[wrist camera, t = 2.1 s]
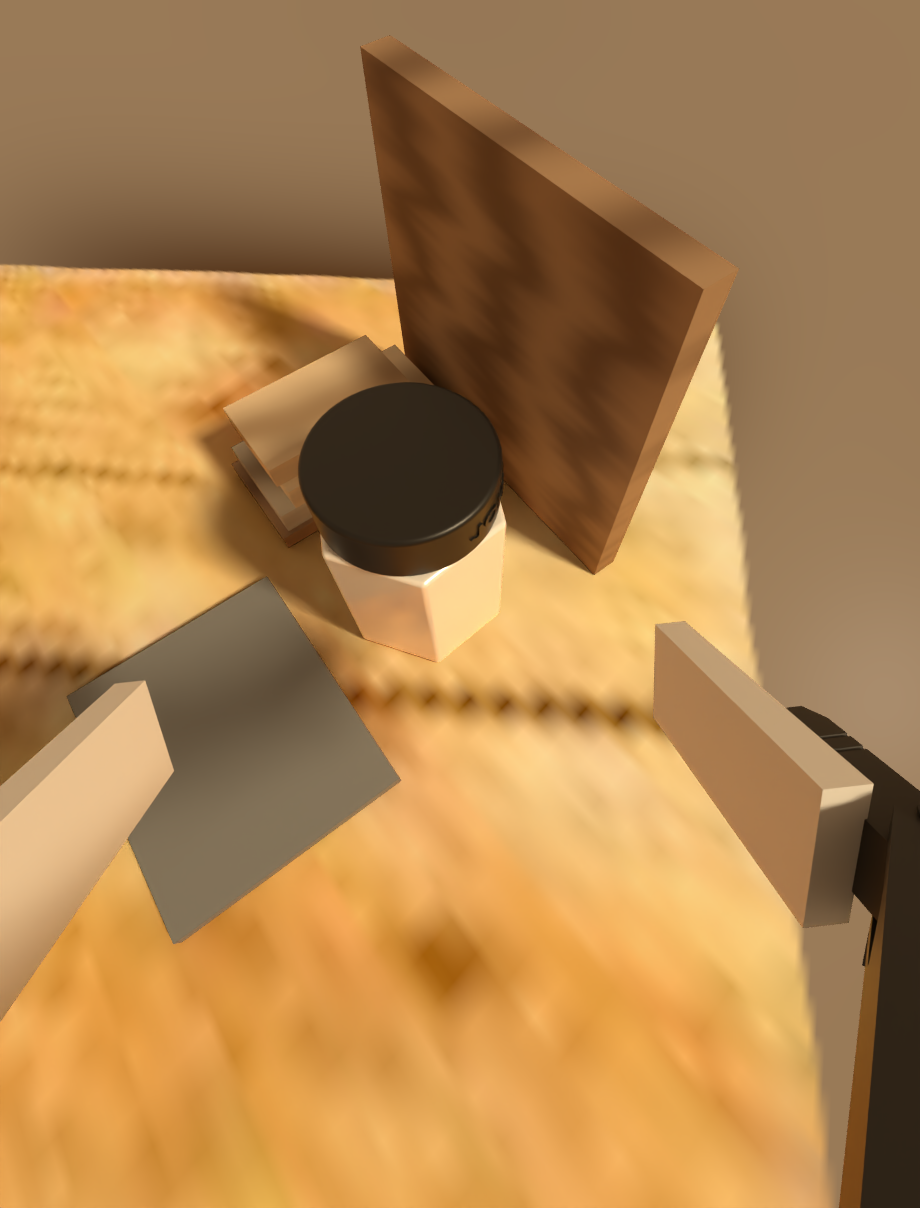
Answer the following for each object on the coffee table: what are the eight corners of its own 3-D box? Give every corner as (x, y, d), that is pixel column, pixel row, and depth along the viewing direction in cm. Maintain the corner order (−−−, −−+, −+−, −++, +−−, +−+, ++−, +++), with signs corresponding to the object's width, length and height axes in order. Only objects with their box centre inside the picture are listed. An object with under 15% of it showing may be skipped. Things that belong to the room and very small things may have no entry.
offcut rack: (237, 473, 37) (48, 164, 21) (426, 370, 41) (389, 35, 24) (401, 710, 30) (308, 521, 14) (613, 561, 34) (739, 268, 17)
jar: (512, 649, 31) (529, 532, 21) (366, 677, 31) (304, 573, 20) (479, 516, 35) (479, 358, 24) (349, 539, 35) (289, 389, 24)
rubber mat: (76, 700, 31) (66, 696, 30) (271, 582, 34) (266, 576, 33) (181, 942, 26) (173, 944, 25) (401, 780, 29) (399, 778, 28)
